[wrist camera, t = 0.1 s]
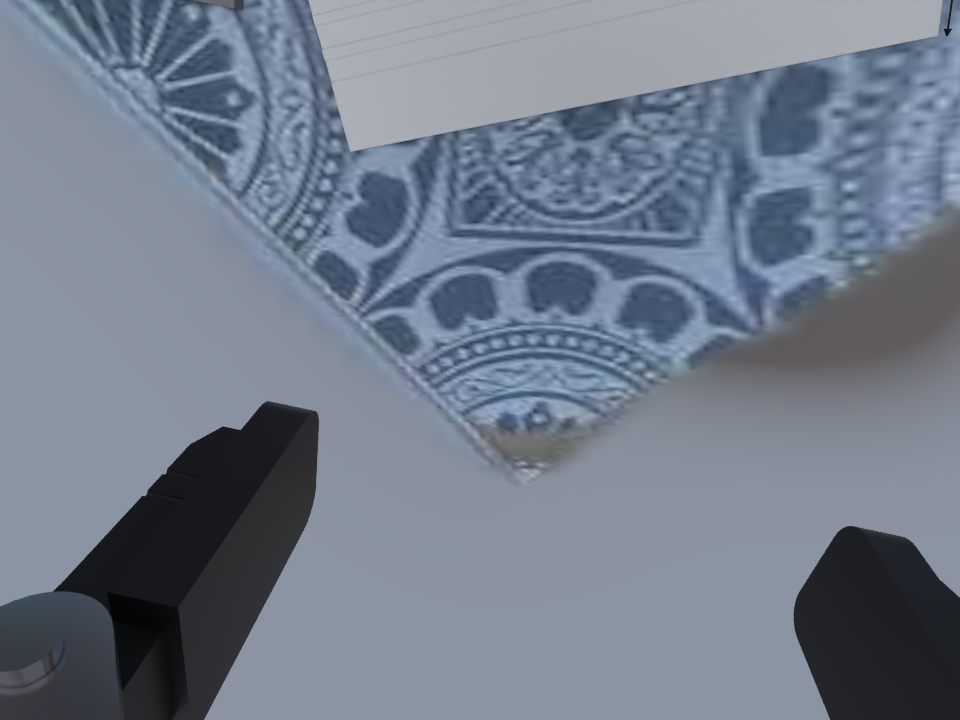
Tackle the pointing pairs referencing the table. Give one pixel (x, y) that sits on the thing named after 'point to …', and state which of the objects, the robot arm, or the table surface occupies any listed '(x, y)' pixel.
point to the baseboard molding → (571, 52)
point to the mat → (226, 3)
